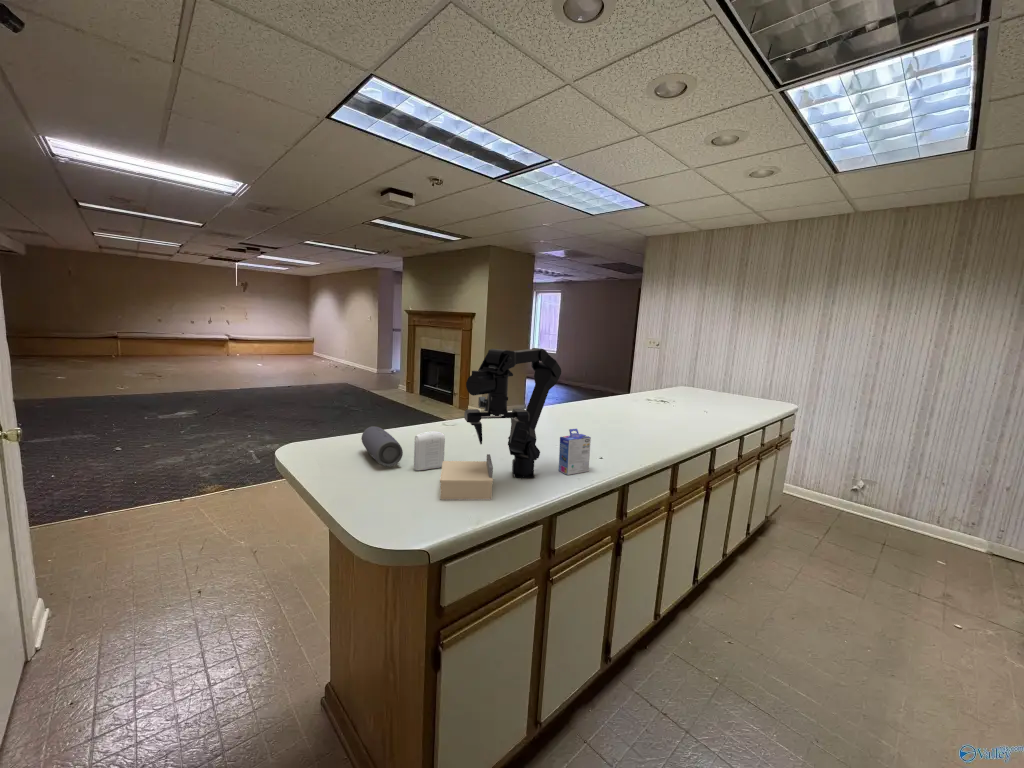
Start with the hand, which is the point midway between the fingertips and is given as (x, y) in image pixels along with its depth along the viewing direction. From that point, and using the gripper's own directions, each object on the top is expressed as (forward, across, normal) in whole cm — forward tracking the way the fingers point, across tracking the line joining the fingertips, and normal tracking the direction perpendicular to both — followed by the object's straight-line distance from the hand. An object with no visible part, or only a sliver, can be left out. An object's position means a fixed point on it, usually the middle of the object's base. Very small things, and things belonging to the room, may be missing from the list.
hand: (495, 443), depth 124 cm
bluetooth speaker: (+13, +34, -29) cm, 46 cm away
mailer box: (+13, +9, +1) cm, 16 cm away
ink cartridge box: (+14, -30, -9) cm, 34 cm away
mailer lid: (+8, +9, +1) cm, 12 cm away
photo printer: (+13, +18, -18) cm, 29 cm away
